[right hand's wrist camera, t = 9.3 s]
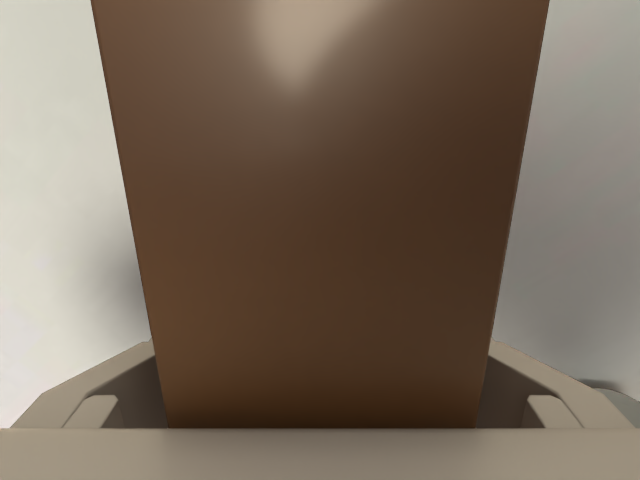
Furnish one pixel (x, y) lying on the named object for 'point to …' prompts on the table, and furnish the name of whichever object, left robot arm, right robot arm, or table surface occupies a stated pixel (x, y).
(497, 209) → the beam
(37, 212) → the table surface
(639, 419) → the spray gun
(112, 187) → the table surface
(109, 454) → the right robot arm
